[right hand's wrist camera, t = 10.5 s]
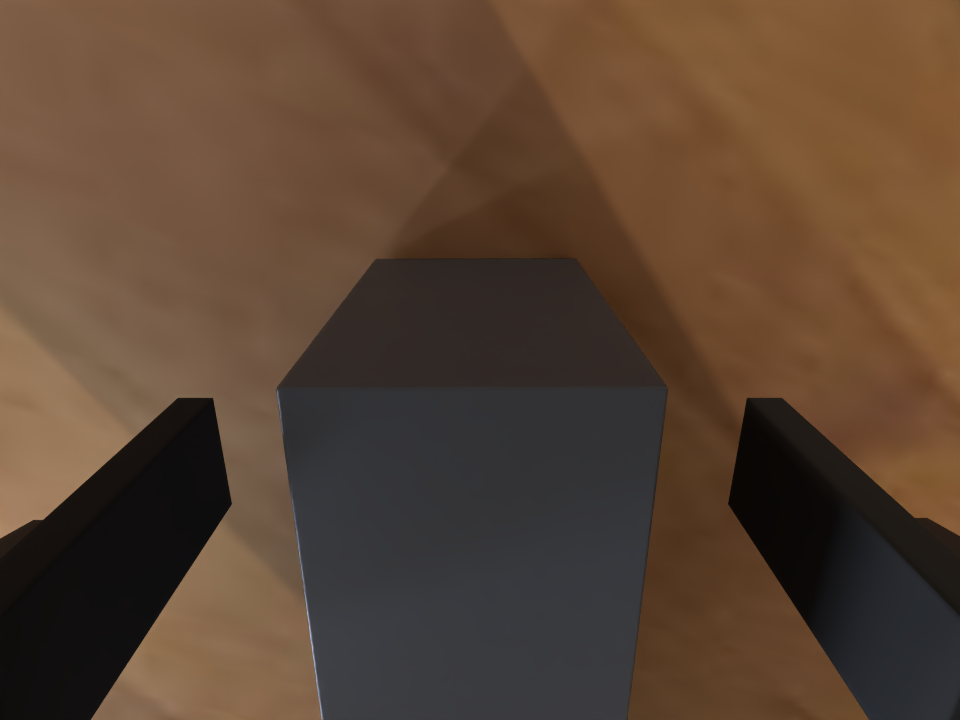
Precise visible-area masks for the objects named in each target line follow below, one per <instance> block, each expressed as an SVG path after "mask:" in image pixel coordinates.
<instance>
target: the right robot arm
mask: <svg viewBox="0 0 960 720" xmlns="http://www.w3.org/2000/svg"><path fill="white" fill-rule="evenodd" d="M231 504H232V502H231V497H230V491H229V485H228V480H227V474H226V468H225V463H224V457H223V452H222V446H221V440H220V435H219V429H218V424H217V418H216V412H215V407H214V401H213V398H178V399H176V400H175V401H174V402H173V403H172V404H171V405H170V406H169V407H168V408H166V409H165V410H164V411H163V412H162V413H161V414H160V415H159V416H158V417H157V418H155V419H154V420H153V421H152V422H151V423H150V424H149V425H148V426H147V427H145V428H144V429H143V430H142V431H141V432H140V433H139V434H138V435H137V436H136V437H134V438H133V439H132V440H131V441H130V442H129V443H128V444H127V445H126V446H124V447H123V448H122V449H121V450H120V451H119V452H118V453H117V454H116V455H115V456H113V457H112V458H111V459H110V460H109V461H108V462H107V463H106V464H105V465H103V466H102V467H101V468H100V469H99V470H98V471H97V472H96V473H95V474H94V475H92V476H91V477H90V478H89V479H88V480H87V481H86V482H85V483H84V484H82V485H81V486H80V487H79V488H78V489H77V490H76V491H75V492H74V493H73V494H71V495H70V496H69V497H68V498H67V499H66V500H65V501H64V502H63V503H61V504H60V505H59V506H58V507H57V508H56V509H55V510H54V511H53V512H52V513H50V514H49V515H48V516H47V517H46V518H45V519H44V520H33V521H31V522H29V523H27V524H26V525H24V526H22V527H20V528H18V529H17V530H15V531H13V532H11V533H10V534H8V535H6V536H4V537H2V538H1V539H0V720H91V718H92V717H93V715H94V714H95V712H96V711H97V709H98V708H99V706H100V705H101V703H102V702H103V700H104V699H105V697H106V695H107V694H108V692H109V691H110V689H111V688H112V686H113V685H114V683H115V682H116V680H117V679H118V677H119V676H120V674H121V673H122V671H123V669H124V668H125V666H126V665H127V663H128V662H129V660H130V659H131V657H132V656H133V654H134V653H135V651H136V650H137V648H138V647H139V645H140V644H141V642H142V640H143V639H144V637H145V636H146V634H147V633H148V631H149V630H150V628H151V627H152V625H153V624H154V622H155V621H156V619H157V618H158V616H159V614H160V613H161V611H162V610H163V608H164V607H165V605H166V604H167V602H168V601H169V599H170V598H171V596H172V595H173V593H174V592H175V590H176V589H177V587H178V585H179V584H180V582H181V581H182V579H183V578H184V576H185V575H186V573H187V572H188V570H189V569H190V567H191V566H192V564H193V563H194V561H195V559H196V558H197V556H198V555H199V553H200V552H201V550H202V549H203V547H204V546H205V544H206V543H207V541H208V540H209V538H210V537H211V535H212V534H213V532H214V530H215V529H216V527H217V526H218V524H219V523H220V521H221V520H222V518H223V517H224V515H225V514H226V512H227V511H228V509H229V508H230V506H231ZM728 504H729V506H730V508H731V509H732V511H733V512H734V514H735V515H736V517H737V518H738V520H739V521H740V523H741V524H742V526H743V527H744V529H745V530H746V532H747V534H748V535H749V537H750V538H751V540H752V541H753V543H754V544H755V546H756V547H757V549H758V550H759V552H760V553H761V555H762V556H763V558H764V559H765V561H766V563H767V564H768V566H769V567H770V569H771V570H772V572H773V573H774V575H775V576H776V578H777V579H778V581H779V582H780V584H781V585H782V587H783V589H784V590H785V592H786V593H787V595H788V596H789V598H790V599H791V601H792V602H793V604H794V605H795V607H796V608H797V610H798V611H799V613H800V614H801V616H802V618H803V619H804V621H805V622H806V624H807V625H808V627H809V628H810V630H811V631H812V633H813V634H814V636H815V637H816V639H817V640H818V642H819V644H820V645H821V647H822V648H823V650H824V651H825V653H826V654H827V656H828V657H829V659H830V660H831V662H832V663H833V665H834V666H835V668H836V669H837V671H838V673H839V674H840V676H841V677H842V679H843V680H844V682H845V683H846V685H847V686H848V688H849V689H850V691H851V692H852V694H853V695H854V697H855V699H856V700H857V702H858V703H859V705H860V706H861V708H862V709H863V711H864V712H865V714H866V715H867V717H868V718H869V720H960V536H958V535H957V534H955V533H953V532H951V531H949V530H948V529H946V528H944V527H942V526H941V525H939V524H937V523H935V522H933V521H932V520H930V519H928V518H914V517H913V516H912V515H911V514H910V513H908V512H907V511H906V510H905V509H904V508H903V507H902V506H901V505H900V504H899V503H897V502H896V501H895V500H894V499H893V498H892V497H891V496H890V495H889V494H887V493H886V492H885V491H884V490H883V489H882V488H881V487H880V486H879V485H878V484H876V483H875V482H874V481H873V480H872V479H871V478H870V477H869V476H868V475H866V474H865V473H864V472H863V471H862V470H861V469H860V468H859V467H858V466H857V465H855V464H854V463H853V462H852V461H851V460H850V459H849V458H848V457H847V456H845V455H844V454H843V453H842V452H841V451H840V450H839V449H838V448H837V447H836V446H834V445H833V444H832V443H831V442H830V441H829V440H828V439H827V438H826V437H824V436H823V435H822V434H821V433H820V432H819V431H818V430H817V429H816V428H815V427H813V426H812V425H811V424H810V423H809V422H808V421H807V420H806V419H805V418H803V417H802V416H801V415H800V414H799V413H798V412H797V411H796V410H795V409H794V408H792V407H791V406H790V405H789V404H788V403H787V402H786V401H785V400H784V399H782V398H747V401H746V407H745V412H744V418H743V424H742V429H741V435H740V440H739V446H738V452H737V457H736V463H735V468H734V474H733V480H732V485H731V491H730V496H729V502H728Z"/></svg>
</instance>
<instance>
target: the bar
mask: <svg viewBox="0 0 960 720" xmlns="http://www.w3.org/2000/svg"><path fill="white" fill-rule="evenodd" d="M276 391H277V399H278V406H279V413H280V420H281V428H282V435H283V442H284V449H285V457H286V464H287V471H288V478H289V486H290V493H291V500H292V507H293V515H294V522H295V529H296V536H297V544H298V551H299V558H300V565H301V573H302V580H303V587H304V594H305V602H306V609H307V616H308V623H309V631H310V638H311V645H312V652H313V660H314V667H315V674H316V681H317V689H318V696H319V703H320V710H321V718H322V720H627V718H628V710H629V702H630V694H631V686H632V677H633V669H634V661H635V653H636V645H637V637H638V629H639V620H640V612H641V604H642V596H643V588H644V580H645V572H646V563H647V555H648V547H649V539H650V531H651V523H652V515H653V506H654V498H655V490H656V482H657V474H658V466H659V457H660V449H661V441H662V433H663V425H664V417H665V409H666V400H667V392H668V388H667V386H666V384H665V383H664V382H663V380H662V379H661V377H660V376H659V375H658V373H657V372H656V370H655V369H654V368H653V366H652V365H651V363H650V362H649V361H648V359H647V358H646V356H645V355H644V354H643V352H642V351H641V349H640V348H639V347H638V345H637V344H636V342H635V341H634V340H633V338H632V337H631V335H630V334H629V333H628V331H627V330H626V328H625V327H624V326H623V324H622V323H621V321H620V320H619V319H618V317H617V316H616V314H615V313H614V312H613V310H612V309H611V307H610V306H609V305H608V303H607V302H606V300H605V299H604V298H603V296H602V295H601V293H600V292H599V291H598V289H597V288H596V286H595V285H594V284H593V282H592V281H591V279H590V278H589V277H588V275H587V274H586V272H585V271H584V270H583V268H582V267H581V265H580V264H579V263H578V261H577V260H576V259H376V260H375V261H374V262H373V263H372V265H371V266H370V267H369V269H368V270H367V271H366V273H365V274H364V275H363V276H362V278H361V279H360V280H359V282H358V283H357V284H356V286H355V287H354V288H353V289H352V291H351V292H350V293H349V295H348V296H347V297H346V299H345V300H344V301H343V302H342V304H341V305H340V306H339V308H338V309H337V310H336V311H335V313H334V314H333V315H332V317H331V318H330V319H329V321H328V322H327V323H326V324H325V326H324V327H323V328H322V330H321V331H320V332H319V334H318V335H317V336H316V337H315V339H314V340H313V341H312V343H311V344H310V345H309V347H308V348H307V349H306V350H305V352H304V353H303V354H302V356H301V357H300V358H299V360H298V361H297V362H296V363H295V365H294V366H293V367H292V369H291V370H290V371H289V373H288V374H287V375H286V376H285V378H284V379H283V380H282V382H281V383H280V384H279V386H278V387H277V389H276Z"/></svg>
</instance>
